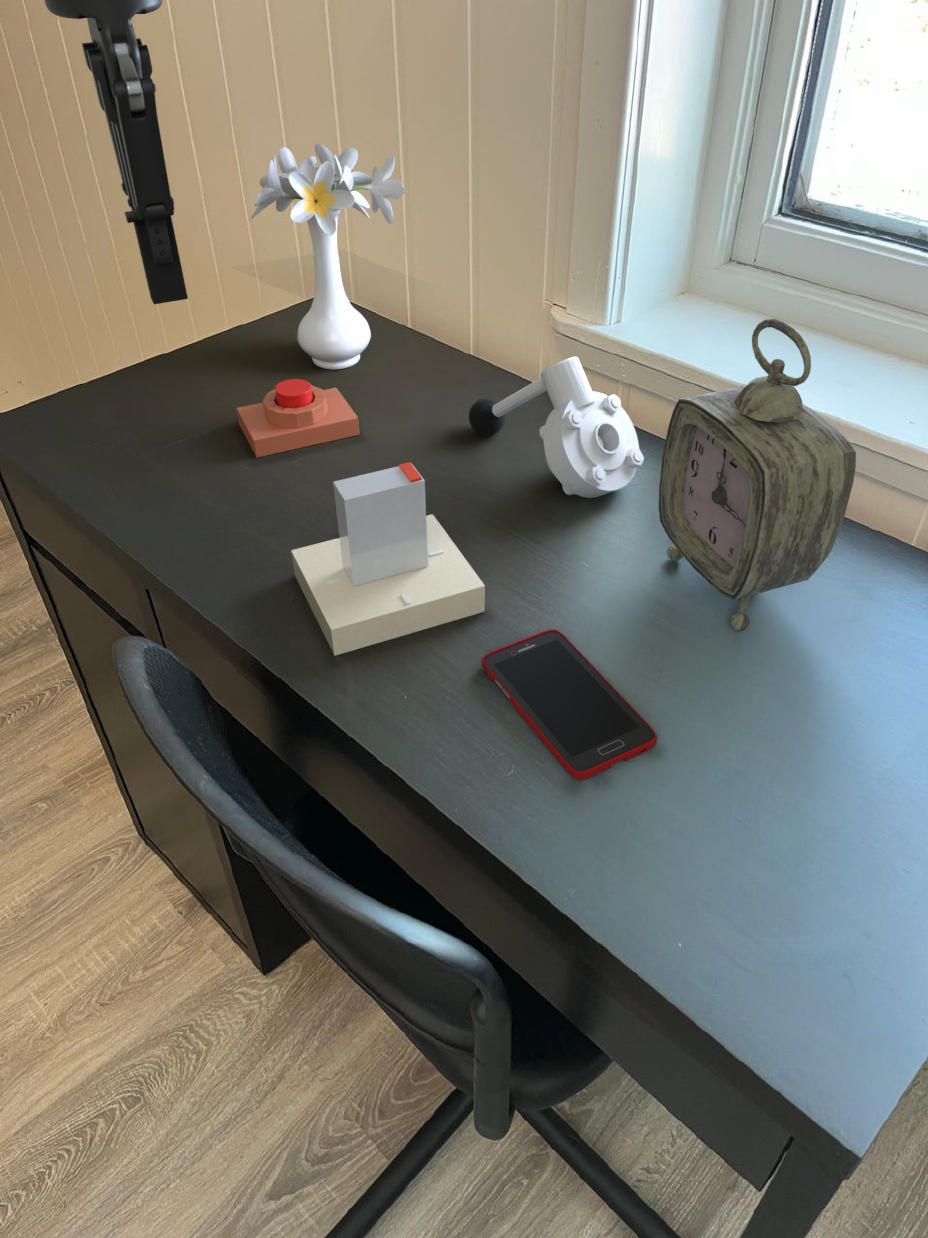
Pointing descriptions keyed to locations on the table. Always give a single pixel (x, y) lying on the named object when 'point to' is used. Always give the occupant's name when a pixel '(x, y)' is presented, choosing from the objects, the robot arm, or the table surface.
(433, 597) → the cream rectangular base
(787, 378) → the tabletop clock
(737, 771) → the table surface
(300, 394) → the button
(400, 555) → the grey rectangular block
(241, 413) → the button block
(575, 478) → the mechanical valve
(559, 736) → the cell phone
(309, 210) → the flower vase
